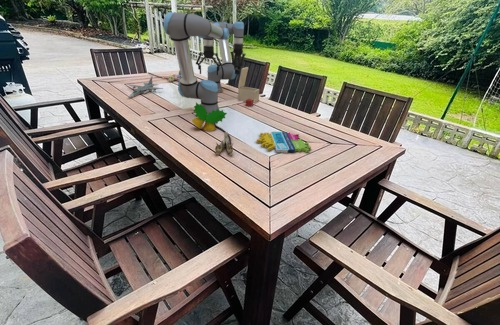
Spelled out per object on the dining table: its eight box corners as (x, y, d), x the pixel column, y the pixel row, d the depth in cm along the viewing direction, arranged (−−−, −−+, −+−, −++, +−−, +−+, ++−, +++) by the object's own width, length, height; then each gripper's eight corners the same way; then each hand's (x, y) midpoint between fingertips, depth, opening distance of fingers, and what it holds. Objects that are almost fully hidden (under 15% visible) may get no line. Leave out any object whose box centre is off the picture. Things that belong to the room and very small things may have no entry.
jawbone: (234, 135, 144) (233, 125, 135) (233, 160, 138) (232, 151, 129) (217, 135, 144) (216, 125, 135) (216, 160, 138) (214, 150, 129)
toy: (194, 71, 284) (182, 76, 258) (194, 78, 288) (182, 83, 262) (171, 69, 289) (156, 73, 263) (171, 75, 293) (157, 80, 267)
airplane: (122, 88, 234) (120, 76, 229) (158, 85, 247) (157, 74, 242) (127, 100, 206) (124, 88, 201) (167, 97, 219) (166, 85, 214)
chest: (258, 100, 227) (259, 89, 222) (253, 103, 219) (254, 91, 214) (243, 97, 232) (243, 86, 228) (238, 99, 225) (238, 88, 220)
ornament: (218, 133, 171) (224, 110, 169) (221, 134, 163) (227, 111, 161) (186, 125, 162) (192, 101, 160) (189, 126, 155) (195, 101, 153)
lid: (248, 67, 218) (239, 64, 221) (243, 68, 211) (234, 65, 213) (244, 85, 227) (236, 82, 229) (239, 88, 219) (230, 84, 222)
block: (253, 105, 214) (253, 99, 211) (250, 106, 210) (250, 101, 208) (248, 104, 215) (248, 98, 213) (245, 105, 212) (245, 100, 209)
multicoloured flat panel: (313, 150, 142) (258, 149, 139) (312, 153, 143) (258, 152, 140) (301, 132, 164) (254, 130, 161) (301, 134, 165) (254, 133, 162)
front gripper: (225, 46, 204) (224, 74, 214) (193, 44, 203) (194, 72, 213) (224, 47, 197) (224, 76, 207) (191, 45, 196) (192, 74, 206)
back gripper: (248, 44, 209) (247, 74, 220) (232, 42, 214) (231, 72, 226) (244, 44, 203) (242, 76, 215) (227, 42, 208) (227, 73, 220)
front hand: (208, 74), depth 210 cm, fingers open, 13 cm apart
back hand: (237, 74), depth 220 cm, fingers closed on lid, 2 cm apart
